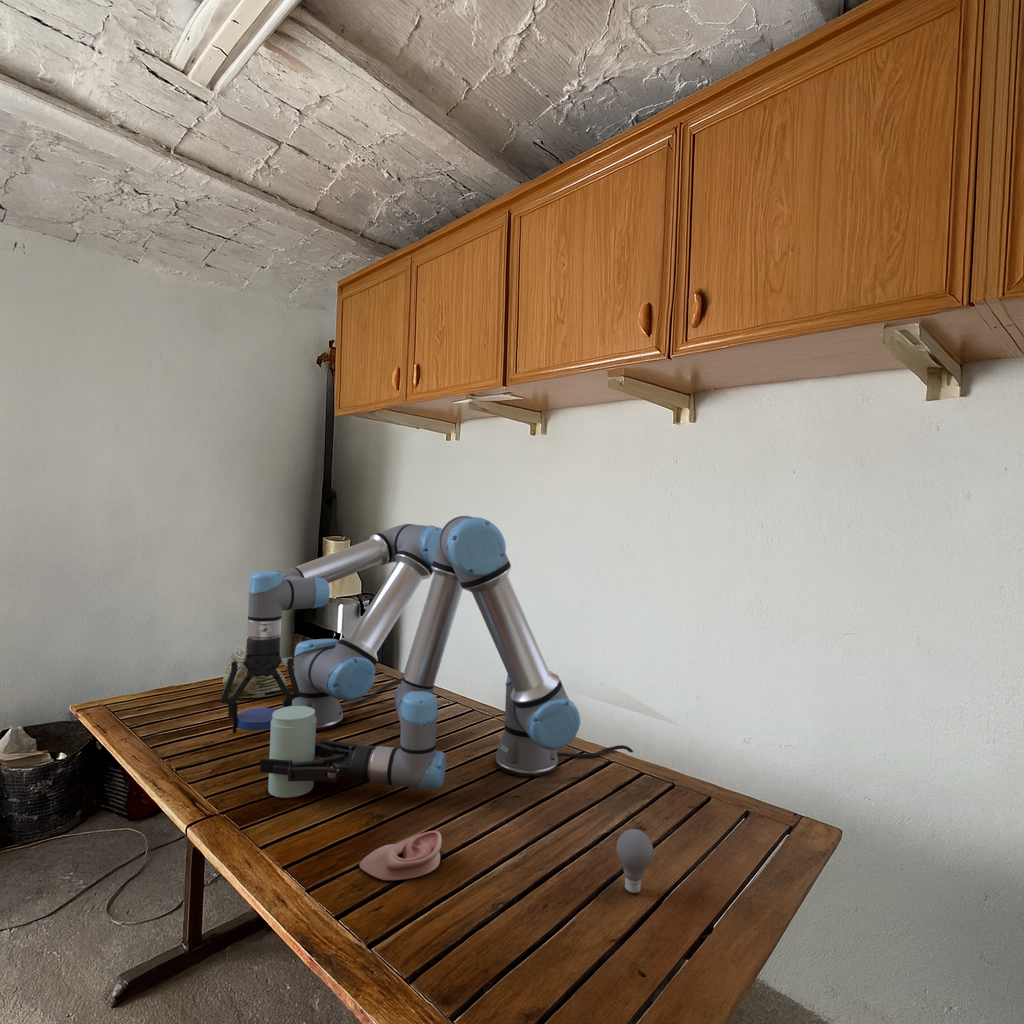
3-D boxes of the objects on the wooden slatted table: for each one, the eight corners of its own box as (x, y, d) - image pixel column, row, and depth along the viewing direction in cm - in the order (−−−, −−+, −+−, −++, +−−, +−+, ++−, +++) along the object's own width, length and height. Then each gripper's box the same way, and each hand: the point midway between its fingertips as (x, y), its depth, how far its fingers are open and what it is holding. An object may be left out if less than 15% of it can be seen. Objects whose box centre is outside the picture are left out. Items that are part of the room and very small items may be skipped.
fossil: (218, 695, 195) (220, 647, 195) (278, 685, 208) (279, 640, 207) (228, 703, 189) (230, 653, 188) (289, 692, 201) (290, 645, 201)
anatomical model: (352, 851, 106) (379, 818, 118) (351, 875, 106) (379, 839, 118) (427, 864, 104) (448, 829, 115) (426, 888, 104) (447, 850, 115)
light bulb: (610, 879, 108) (613, 822, 108) (644, 879, 109) (647, 822, 109) (619, 902, 102) (622, 840, 102) (655, 901, 103) (658, 840, 103)
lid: (259, 733, 145) (259, 725, 145) (226, 725, 149) (226, 717, 149) (292, 720, 154) (292, 712, 154) (260, 712, 158) (260, 705, 158)
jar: (275, 778, 141) (277, 704, 141) (317, 778, 142) (320, 705, 142) (262, 797, 132) (265, 719, 132) (308, 797, 133) (311, 719, 133)
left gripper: (210, 642, 143) (206, 739, 143) (315, 638, 152) (311, 729, 153) (211, 635, 150) (207, 728, 150) (311, 631, 159) (307, 719, 159)
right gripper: (353, 806, 124) (245, 796, 127) (387, 761, 146) (294, 753, 149) (355, 768, 124) (246, 759, 127) (388, 729, 146) (295, 721, 149)
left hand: (259, 729), depth 151 cm, fingers closed on lid, 10 cm apart
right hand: (272, 755), depth 138 cm, fingers closed on jar, 9 cm apart
